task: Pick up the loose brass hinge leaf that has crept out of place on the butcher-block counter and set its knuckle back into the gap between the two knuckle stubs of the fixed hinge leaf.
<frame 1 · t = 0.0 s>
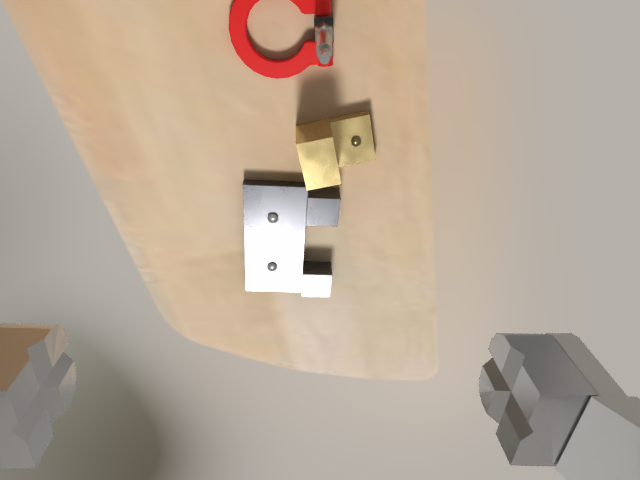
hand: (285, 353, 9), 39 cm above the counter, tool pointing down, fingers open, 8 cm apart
fixed leaf: (318, 238, 54), on the counter
tow hook: (281, 27, 41), on the counter
loose leaf: (317, 144, 48), on the counter
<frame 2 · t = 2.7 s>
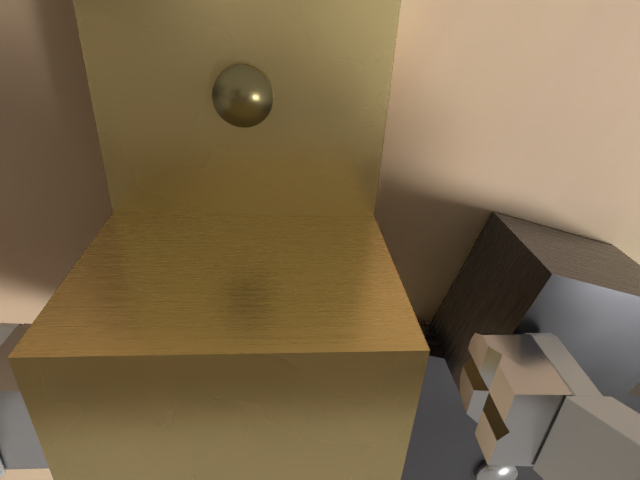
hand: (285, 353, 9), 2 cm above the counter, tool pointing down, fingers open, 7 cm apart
loose leaf: (251, 259, 11), on the counter
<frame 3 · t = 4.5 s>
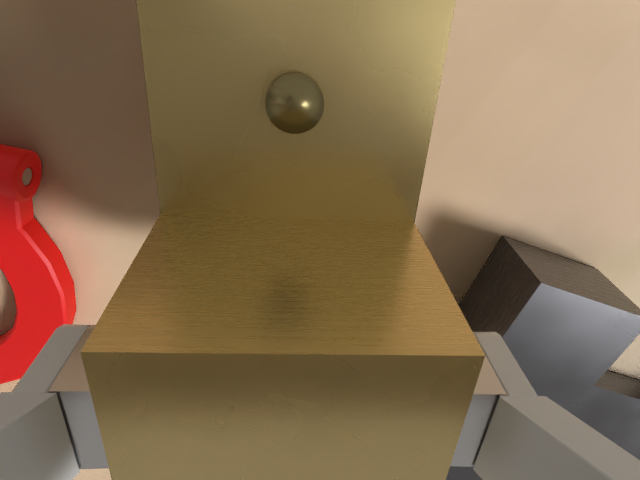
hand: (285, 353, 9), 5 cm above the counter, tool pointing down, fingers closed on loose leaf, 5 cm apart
loose leaf: (287, 262, 11), point 3 cm above the counter, touching gripper
when the fingers open (4 cm above the counter, at t = 7.8 s): loose leaf drops 2 cm, on the counter.
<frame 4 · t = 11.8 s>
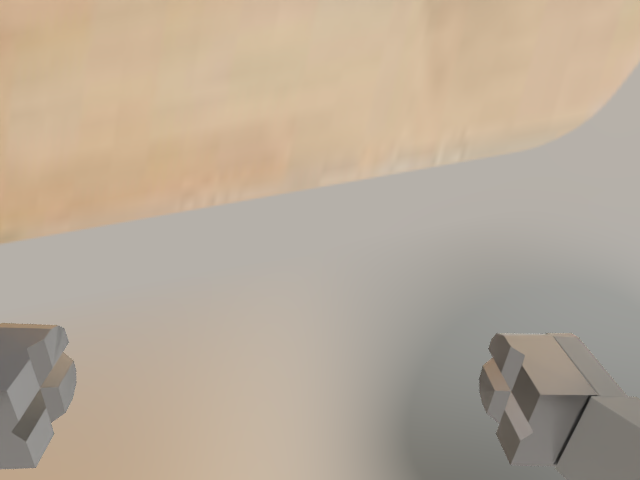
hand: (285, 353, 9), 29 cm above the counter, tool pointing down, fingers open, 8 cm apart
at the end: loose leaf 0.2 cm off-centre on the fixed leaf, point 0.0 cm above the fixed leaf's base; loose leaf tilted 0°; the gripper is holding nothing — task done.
